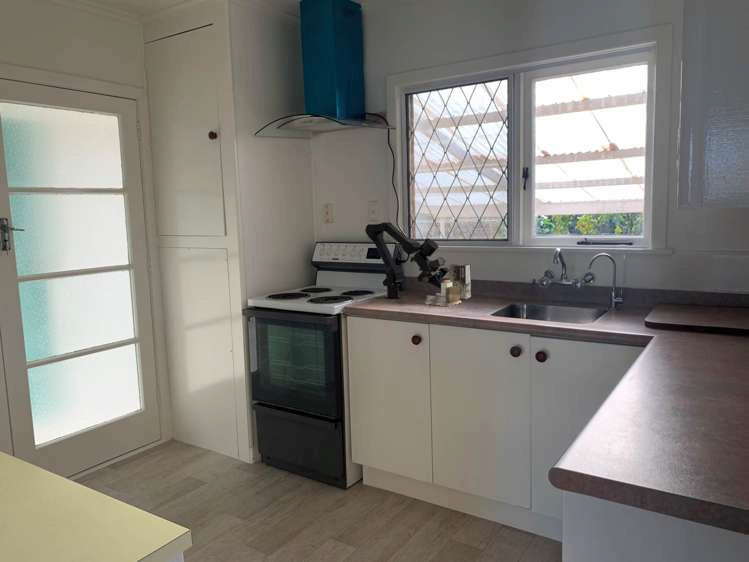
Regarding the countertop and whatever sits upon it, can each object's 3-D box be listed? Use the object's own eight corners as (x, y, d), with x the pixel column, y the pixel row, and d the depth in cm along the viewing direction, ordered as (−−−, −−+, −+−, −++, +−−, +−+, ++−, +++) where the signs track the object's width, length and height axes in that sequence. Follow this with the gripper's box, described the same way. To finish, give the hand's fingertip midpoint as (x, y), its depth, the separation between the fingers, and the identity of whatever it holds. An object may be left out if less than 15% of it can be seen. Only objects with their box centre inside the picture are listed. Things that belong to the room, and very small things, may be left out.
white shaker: (439, 301, 267) (439, 280, 266) (446, 299, 271) (445, 279, 270) (447, 302, 264) (447, 281, 263) (454, 300, 268) (454, 280, 267)
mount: (425, 304, 269) (424, 286, 268) (438, 300, 277) (438, 283, 276) (447, 306, 261) (447, 288, 260) (461, 303, 269) (461, 285, 268)
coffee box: (471, 297, 285) (471, 264, 282) (466, 299, 279) (465, 265, 277) (454, 295, 289) (454, 263, 287) (448, 297, 284) (448, 264, 282)
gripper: (422, 253, 262) (442, 280, 256) (445, 250, 276) (465, 275, 270) (408, 269, 268) (427, 295, 263) (431, 265, 282) (450, 290, 277)
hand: (443, 288), depth 268 cm, fingers closed, pressing on white shaker
